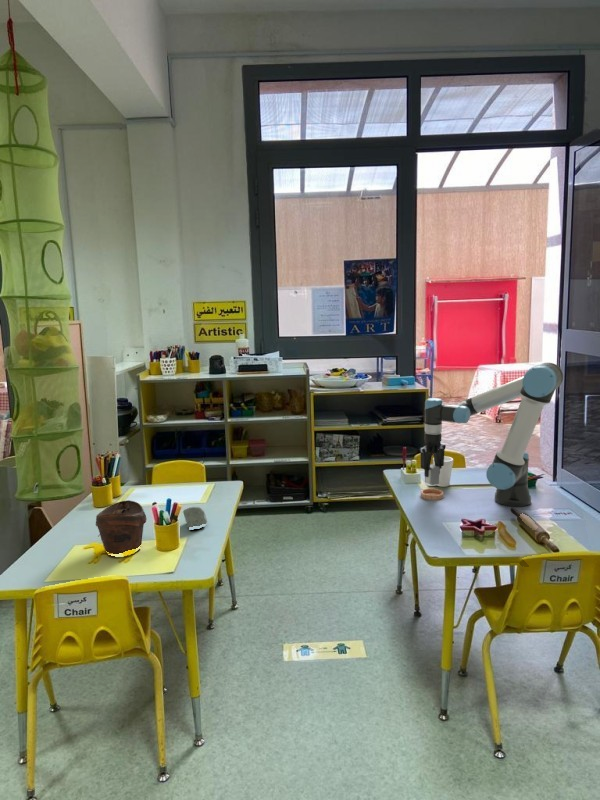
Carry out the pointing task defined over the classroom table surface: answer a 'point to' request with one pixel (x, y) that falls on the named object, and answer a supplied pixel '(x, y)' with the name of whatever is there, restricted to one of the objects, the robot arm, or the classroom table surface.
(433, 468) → the stone block
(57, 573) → the classroom table surface
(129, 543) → the chocolate muffin
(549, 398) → the robot arm
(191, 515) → the decorative stone
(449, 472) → the foam cup
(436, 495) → the terracotta dish
